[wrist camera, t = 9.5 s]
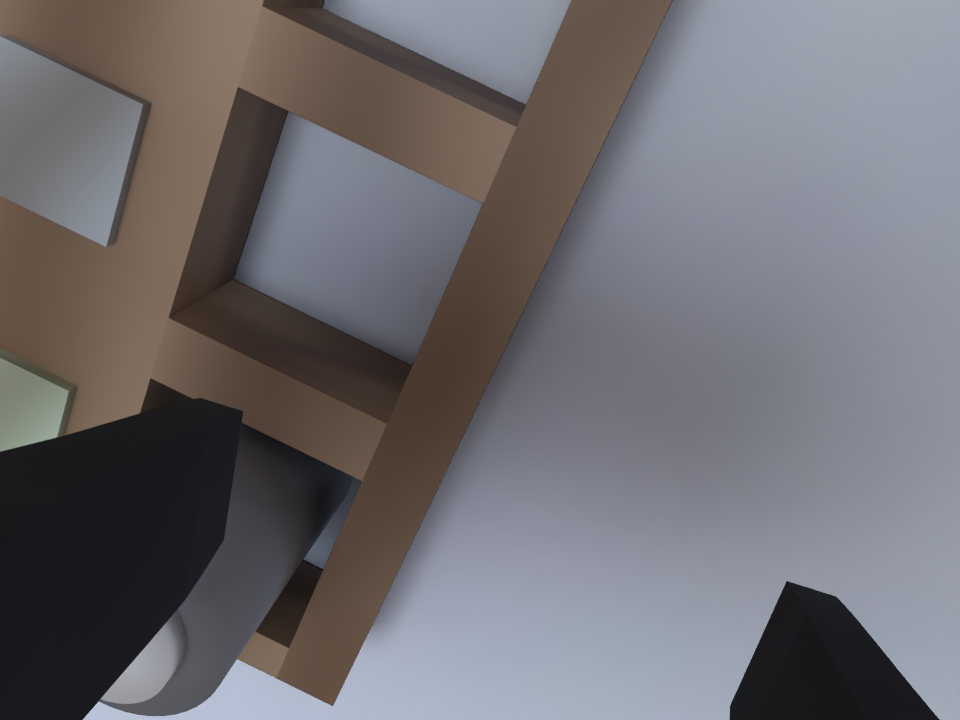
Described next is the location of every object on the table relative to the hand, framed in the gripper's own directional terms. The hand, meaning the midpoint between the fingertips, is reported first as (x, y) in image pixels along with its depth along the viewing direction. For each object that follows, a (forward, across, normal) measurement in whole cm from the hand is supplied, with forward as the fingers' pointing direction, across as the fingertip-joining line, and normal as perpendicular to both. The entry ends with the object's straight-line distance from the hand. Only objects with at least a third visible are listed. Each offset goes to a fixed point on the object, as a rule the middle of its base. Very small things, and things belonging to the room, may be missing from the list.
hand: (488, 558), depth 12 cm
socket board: (+9, +7, -1) cm, 12 cm away
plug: (+9, +6, +6) cm, 12 cm away
